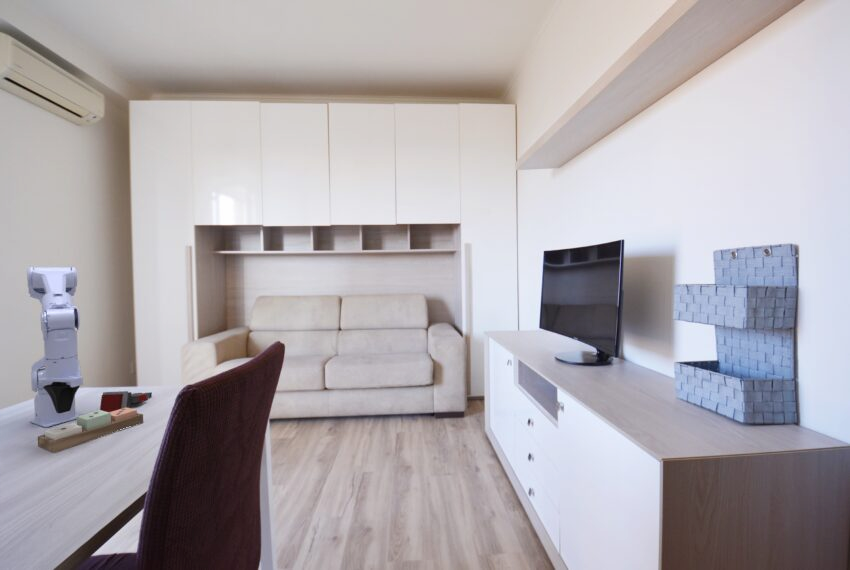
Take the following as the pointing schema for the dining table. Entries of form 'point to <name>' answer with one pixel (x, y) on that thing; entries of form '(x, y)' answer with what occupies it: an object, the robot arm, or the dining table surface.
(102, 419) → the sage tile
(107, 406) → the toy
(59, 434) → the cream tile
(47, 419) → the robot arm
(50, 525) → the dining table surface
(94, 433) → the board
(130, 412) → the terracotta tile
